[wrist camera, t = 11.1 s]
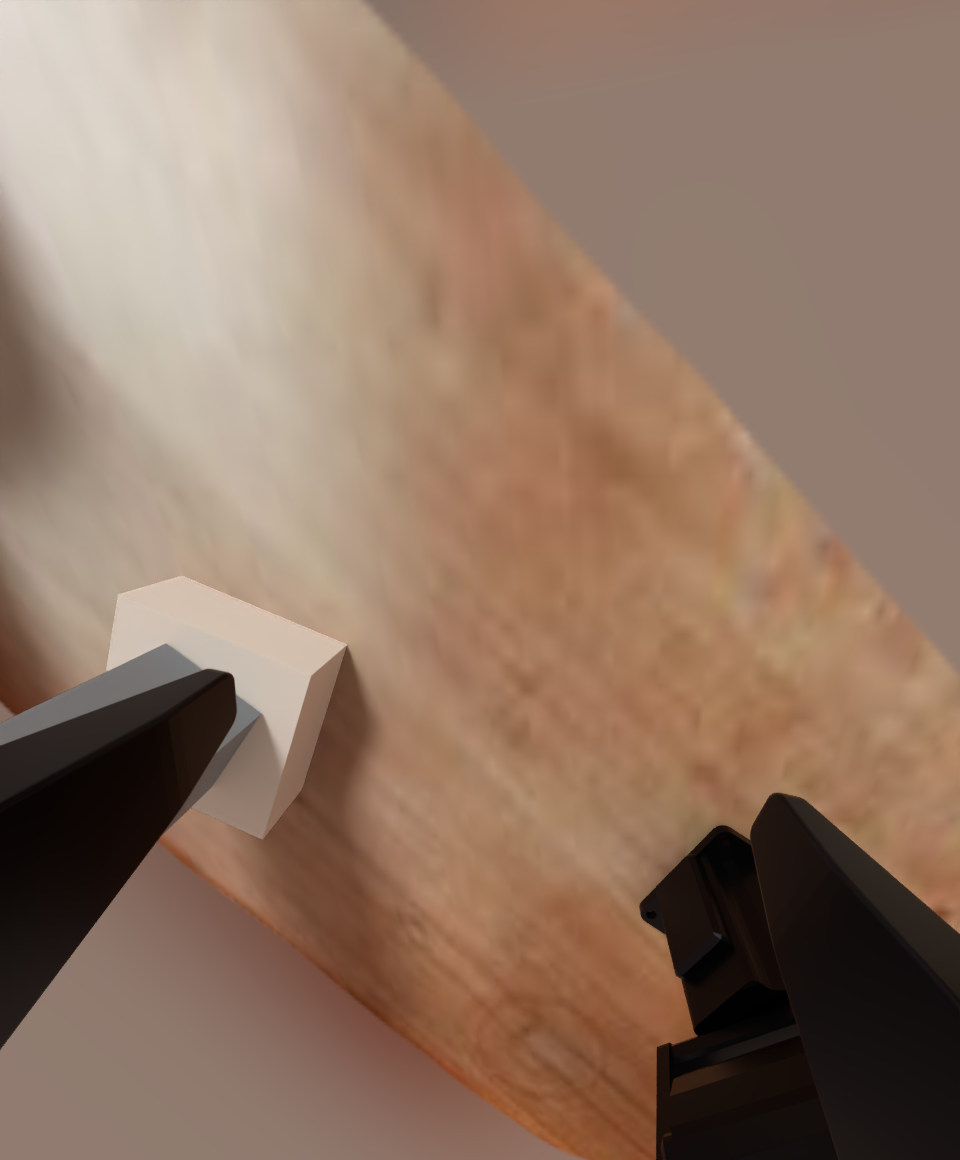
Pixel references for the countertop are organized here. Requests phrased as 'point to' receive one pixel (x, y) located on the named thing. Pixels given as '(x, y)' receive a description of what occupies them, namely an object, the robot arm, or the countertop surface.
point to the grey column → (124, 684)
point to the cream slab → (241, 687)
